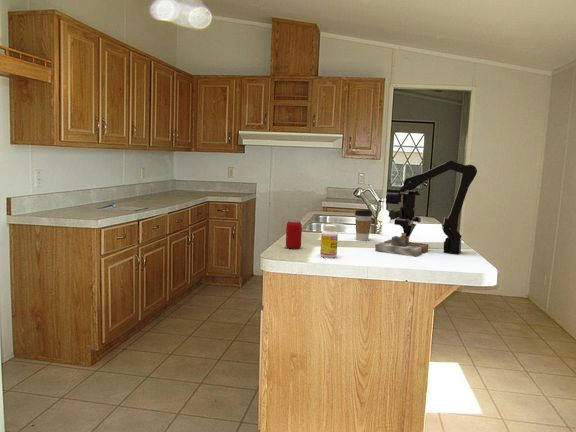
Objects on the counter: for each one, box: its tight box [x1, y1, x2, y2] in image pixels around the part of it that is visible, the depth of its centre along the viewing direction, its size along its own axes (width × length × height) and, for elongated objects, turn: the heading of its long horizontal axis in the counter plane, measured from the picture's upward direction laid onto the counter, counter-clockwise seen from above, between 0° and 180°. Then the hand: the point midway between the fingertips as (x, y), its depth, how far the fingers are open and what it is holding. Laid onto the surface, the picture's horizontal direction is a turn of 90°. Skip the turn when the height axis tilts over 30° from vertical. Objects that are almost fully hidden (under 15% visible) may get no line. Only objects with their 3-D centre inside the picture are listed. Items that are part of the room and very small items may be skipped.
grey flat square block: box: [374, 235, 429, 257], centre depth 217 cm, size 18×18×6 cm
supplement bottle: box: [319, 223, 339, 259], centre depth 198 cm, size 7×7×13 cm
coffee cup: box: [354, 209, 373, 242], centre depth 244 cm, size 8×8×15 cm
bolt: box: [398, 232, 410, 243], centre depth 218 cm, size 3×7×5 cm, turn 148°
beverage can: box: [285, 219, 303, 250], centre depth 215 cm, size 7×7×12 cm
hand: (406, 239), depth 222 cm, fingers closed
